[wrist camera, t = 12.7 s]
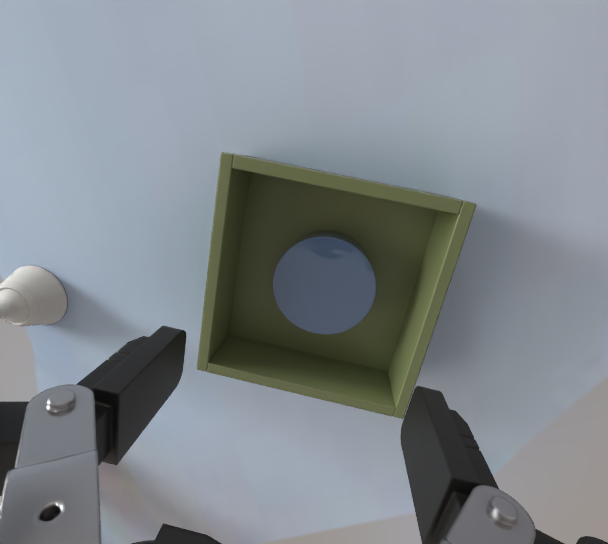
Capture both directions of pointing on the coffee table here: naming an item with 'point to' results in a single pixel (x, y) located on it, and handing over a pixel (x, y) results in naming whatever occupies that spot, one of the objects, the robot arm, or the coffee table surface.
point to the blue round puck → (325, 282)
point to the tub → (386, 263)
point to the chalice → (32, 297)
